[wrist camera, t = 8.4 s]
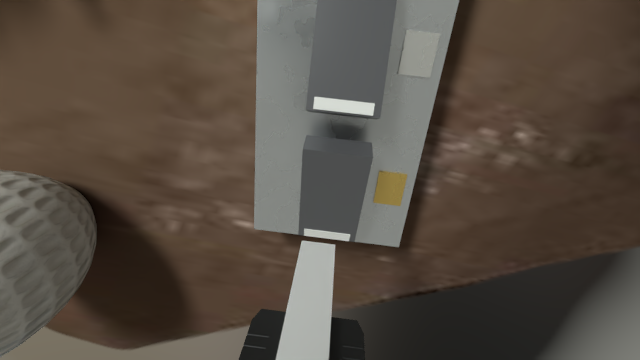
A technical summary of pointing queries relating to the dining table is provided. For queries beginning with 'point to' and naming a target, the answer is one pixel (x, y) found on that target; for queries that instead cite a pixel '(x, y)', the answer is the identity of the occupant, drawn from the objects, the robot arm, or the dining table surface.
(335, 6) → the switch
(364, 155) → the switch
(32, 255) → the vase
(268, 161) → the console
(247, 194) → the dining table surface
